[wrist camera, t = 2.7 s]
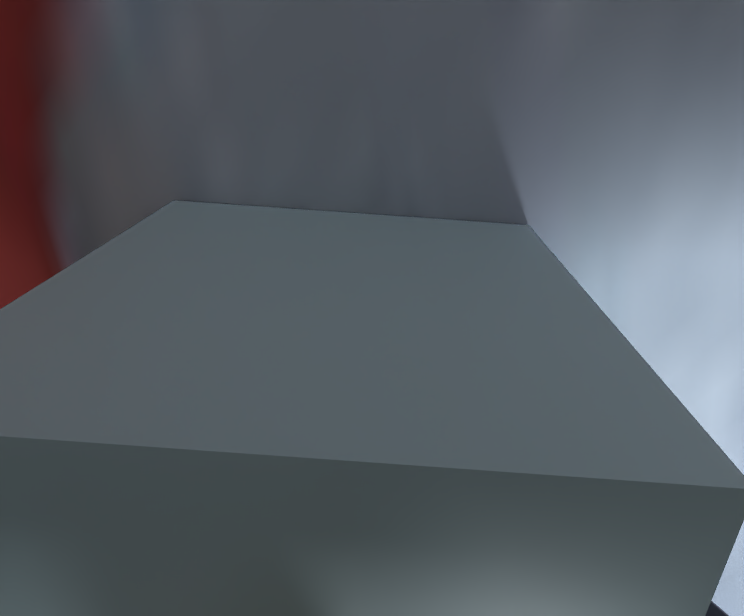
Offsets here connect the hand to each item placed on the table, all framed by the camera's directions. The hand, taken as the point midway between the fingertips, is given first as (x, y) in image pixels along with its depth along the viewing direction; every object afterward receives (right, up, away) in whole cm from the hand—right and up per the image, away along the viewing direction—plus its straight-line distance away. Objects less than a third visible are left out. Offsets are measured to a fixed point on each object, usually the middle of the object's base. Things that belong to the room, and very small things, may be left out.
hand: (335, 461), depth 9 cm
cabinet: (0, 0, +1) cm, 1 cm away
